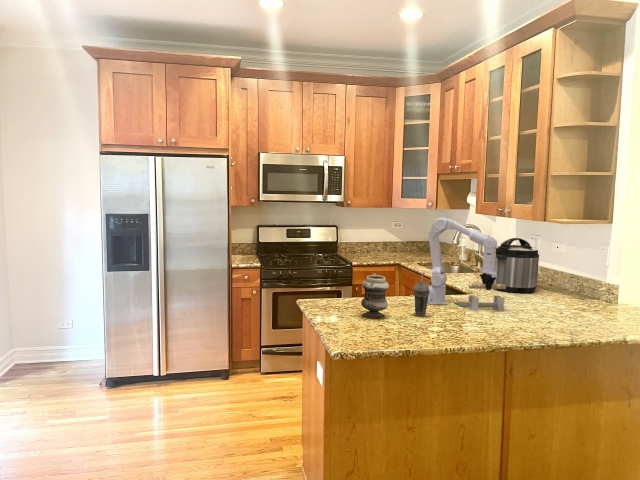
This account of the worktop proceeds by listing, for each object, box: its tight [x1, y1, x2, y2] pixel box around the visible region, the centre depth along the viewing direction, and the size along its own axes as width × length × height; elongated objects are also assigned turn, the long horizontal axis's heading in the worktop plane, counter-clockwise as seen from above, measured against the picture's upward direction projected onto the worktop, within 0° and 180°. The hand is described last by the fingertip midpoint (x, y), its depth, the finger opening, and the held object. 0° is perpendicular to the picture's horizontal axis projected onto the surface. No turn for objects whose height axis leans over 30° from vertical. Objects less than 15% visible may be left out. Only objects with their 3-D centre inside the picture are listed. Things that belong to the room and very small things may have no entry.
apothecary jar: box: [360, 274, 390, 319], centre depth 210 cm, size 12×12×18 cm
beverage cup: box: [413, 272, 430, 318], centre depth 213 cm, size 7×7×20 cm
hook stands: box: [467, 294, 505, 312], centre depth 230 cm, size 16×5×6 cm, turn 95°
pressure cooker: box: [493, 237, 540, 294], centre depth 285 cm, size 30×28×32 cm
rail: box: [468, 283, 506, 290], centre depth 229 cm, size 18×2×2 cm, turn 95°
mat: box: [453, 301, 494, 308], centre depth 239 cm, size 22×8×1 cm, turn 95°
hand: (486, 289), depth 229 cm, fingers closed on rail, 2 cm apart
